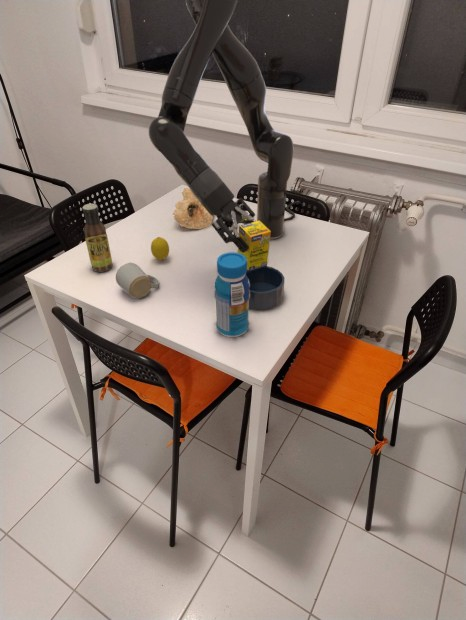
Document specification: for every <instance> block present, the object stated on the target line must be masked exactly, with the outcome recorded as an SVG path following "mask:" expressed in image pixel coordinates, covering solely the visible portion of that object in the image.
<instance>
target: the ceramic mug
mask: <svg viewBox="0 0 466 620" xmlns="http://www.w3.org/2000/svg"><path fill="white" fill-rule="evenodd" d="M115 281H116V284H117V285H118V286H119V287H120V288H121V289H123V291H125V293H126V294H127V295H128V296H130V297H132V298H134V299H141V298H145V297H146V296H147V295H148V294H149V293H150V291H151V290H153V289H157V288H158V287H159V284H160V281H159V279H158V278H156V277H155V276H153V275H150V274H147V273H146V272H145V271H144V270H143V269H142V268H141V267H140V265H138V264H137V263H135V262H126V263H124V264H123V265H121V266H120V267H119V268H118V269H117V271H116V273H115Z"/></svg>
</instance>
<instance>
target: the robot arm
mask: <svg viewBox="0 0 466 620" xmlns="http://www.w3.org/2000/svg"><path fill="white" fill-rule="evenodd" d="M184 2H185V5H186V8H187V10H188V12H189V14H190V16H191V18H192V19H193V22H194V24H195V25H196V26H195V28H194V30H193V32H192V34H190V35H191V36H190V37H189V39H188V40H187V42H186V43H185V44H184V46H183V47H182V49H181V50H180V51H179V53H178V54H177V56H176V58H175V59H174V62H173V63H172V66H171V68H170V70H169V72H168V75H167V79H166V81H165V85H164V88H163V91H162V93H161V94H162V95H161V107H160V110H159V113H158V116H157V117H155V118H154V119H153V120H152V121H151V122H150V124H149V127H148V137H149V139H150V142H151V144H152V145H153V147H154V148H155V149H156V150H157V151H158V152H159V153H161V155H162V156H163V157H164V158H165V159H166V160H167V161H168V162H169V163H170V164H171V165H172V167H173V169H174V170H175V172H176V174H177V175H178V176H179V177H180V179H181V180H182V181H183V182H184V183H185V185H186V186H187V188H189V189H190V190H191V191H192V193H193V194H194V196H195V197H196V198H197V199H198V201H199V202H200V203H201V204H202V205H203V206H204V208H205V209H206V210H207V211H208V212H209V214H210V215H211V216H213V217H214V216H215V217H216V218H217V219H216V220H214V221H212V223H211V226H212V228H213V229H214V230H215V232H216V233H217V234H218V235H219V236H220V238H221V239H222V241H223V242H224V243H225V244H229V243H233V244H234V245H235V247H236V248H237V250H238V249H239V250H240V251H241V252H243V253H244V252H246V251H247V250H248V249H249V246H248V245H247V244H246V242H245V241H244V240H243V239H242V238H241V236H240V237H239V225H240V224H242V225H244V224H248V223H252V222H256V221H260V222H261V223H262V224H264V225H265V226H266V227H267V228H268V229H269V230H270V231H271V235H270V240H278V239H280V238H281V237H283V235H284V226H285V225H284V224H285V222H286V221H291V220H292V219H294V218H295V216H296V213H295V212H294V211H293V210H291V209H290V208H291V206H294V205H296V204H298V205H303V203H302V202H301V201H299V200H297V201H293V202H291V203H289V204H288V205H287V206H286V201H287V189H288V182H289V179H290V176H291V172H292V166H293V158H294V150H295V149H294V141H293V139H292V137H290V136H289V135H288V134H286V133H283V132H280V131H278V130H275V129H274V128H273V126H272V124H271V122H270V119H269V117H268V115H267V112H266V111H267V110H266V102H267V87H266V83H265V80H264V77H263V75H262V71H261V69H260V67H259V64H258V62H257V60H256V59H255V57H254V56H253V55H252V53H251V52H250V51H249V50H248V49H247V48H246V47H245V45H244V44H243V43H242V42H241V41H240V40H239V39H238V38H237V36H236V35H235V34H234V33H233V31H232V30H231V28H230V26H229V24H228V23H229V22H230V20H231V18H232V16H233V14H234V12H235V9H236V6H237V3H238V0H185V1H184ZM212 56H213V58H214V61H215V62H216V64H217V66H218V68H219V71H220V72H221V75H222V78H223V79H224V81H225V84H226V86H227V89H228V91H229V93H230V96H231V98H232V100H233V102H234V103H235V106H236V108H237V110H238V112H239V115H240V117H241V118H242V121H243V123H244V126H245V127H246V130H247V133H248V137H249V139H250V142H251V145H252V148H253V151H254V153H255V155H256V157H257V158H258V159H259V160H260V161H262V162H265V163H267V171H265V172H263V173H261V174H259V176H258V179H257V203H256V213H255V212H254V210H253V209H252V208H251V207H250V206H249V205H248V204H247V202H246V201H245V200H244V199H243V198H242V197H239V198H238V199H236V200H235V201H234V198H235V194H234V193H233V192H232V190H231V189H230V188H229V186H228V185H227V184H226V183H225V182H224V181H223V180H222V178H221V177H220V176H219V174H218V173H216V172H215V170H213V169H212V167H211V166H210V165H209V164H208V163H207V162H206V160H205V159H204V158H203V157H202V155H201V154H200V153H199V152H198V151H197V150H196V149H195V148H194V146H193V145H192V144H191V142H190V140H189V139H188V137H187V135H185V132H184V131H185V128H186V124H187V120H188V117H189V114H190V110H191V108H192V106H193V103H194V100H195V98H196V95H197V92H198V89H199V86H200V83H201V80H202V77H203V75H204V72H205V71H206V68H207V65H208V63H209V61H210V59H211V57H212ZM286 211H287V212H288V213H290V214H291V216H289V217H287V218H285V212H286ZM255 216H256V220H255V218H254V217H255Z"/></svg>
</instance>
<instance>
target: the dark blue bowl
mask: <svg viewBox="0 0 466 620" xmlns="http://www.w3.org/2000/svg"><path fill="white" fill-rule="evenodd" d="M246 275H247V277H248V279H249V282H250V287H249V290H250V299H249V310H252V311H258V312H263V311H269V310H272V309H273V310H274V309H275V308H278V307H279V306H280V305H281V303H282V302H283V299H284V292H285V291H284V290H285V281H286V280H285V276H284V274H283V273H282V272H281V271H280V270H279V269H277V268H274V267H272V266H268V265H267V267H264V268H260V269H257V270H254V271H251V272H246Z"/></svg>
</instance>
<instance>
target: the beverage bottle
mask: <svg viewBox="0 0 466 620" xmlns="http://www.w3.org/2000/svg"><path fill="white" fill-rule="evenodd" d="M216 272H217V274H218V275H217V276H216V277H215V281H214V293H213V294H214V296H213V297H214V299H215V313H216V315H215V317H216V320H215V326H216V330H217V331H218V333H219V334H221V335H222V336H224V337H227V338H237V337H240V336H243V335H244V334H245V333H246V332H247V331H248V329H249V328H250V327H249V326H250V324H249V321H250V320H249V312H250V311H249V310H250V309H249V299H250V290H249V287H250V282H249V279H248V277H247V275H246V272H247V259H246V257H245V256H244V255H242V254H240V253H238V252H234V251H230V252H229V251H228V252H224V253H222V254H220V255H219V256H218V257H217V259H216Z"/></svg>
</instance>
